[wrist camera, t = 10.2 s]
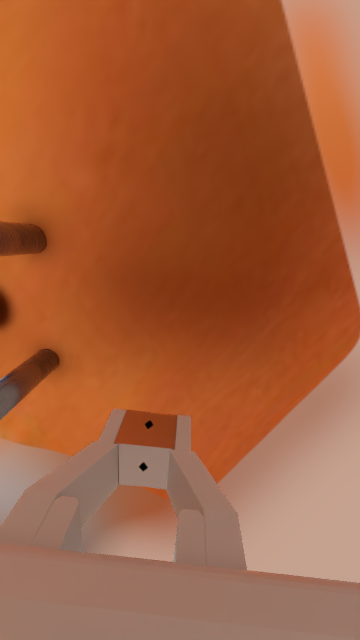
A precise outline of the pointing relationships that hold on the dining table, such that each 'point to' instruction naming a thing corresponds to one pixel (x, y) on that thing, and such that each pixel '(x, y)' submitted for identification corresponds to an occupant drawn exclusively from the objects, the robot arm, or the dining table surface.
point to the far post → (25, 379)
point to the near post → (20, 239)
